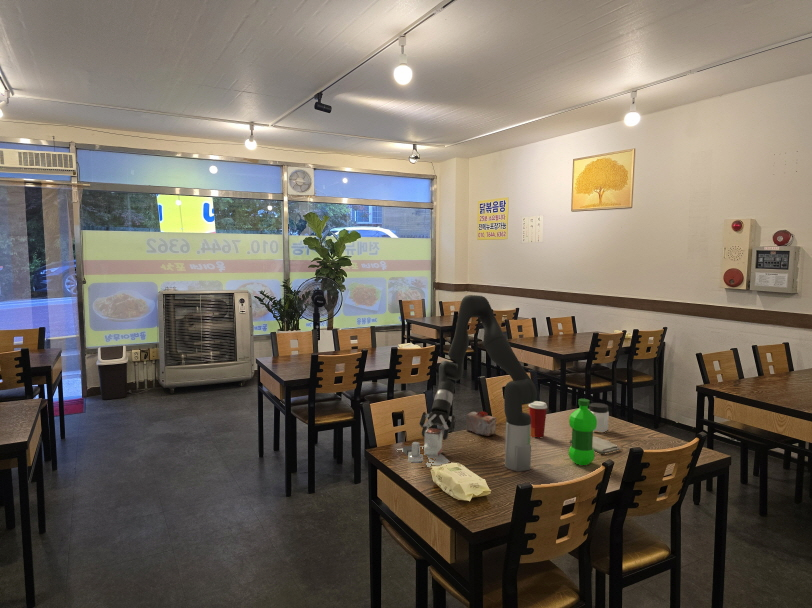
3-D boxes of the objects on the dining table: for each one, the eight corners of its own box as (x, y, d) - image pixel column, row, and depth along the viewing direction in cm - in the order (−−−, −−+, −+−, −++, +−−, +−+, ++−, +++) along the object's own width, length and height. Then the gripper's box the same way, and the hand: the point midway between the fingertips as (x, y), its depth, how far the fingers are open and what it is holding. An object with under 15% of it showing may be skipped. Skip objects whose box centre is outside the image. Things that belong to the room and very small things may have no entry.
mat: (453, 465, 203) (453, 464, 203) (413, 470, 198) (413, 469, 198) (431, 446, 224) (431, 445, 224) (395, 449, 219) (395, 449, 219)
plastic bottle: (564, 458, 212) (566, 396, 210) (590, 458, 212) (593, 397, 210) (571, 467, 202) (573, 403, 200) (599, 468, 202) (602, 403, 200)
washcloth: (602, 457, 215) (603, 449, 215) (568, 444, 231) (568, 437, 230) (621, 452, 222) (622, 444, 221) (586, 439, 237) (586, 432, 237)
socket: (442, 452, 216) (442, 429, 215) (438, 456, 210) (438, 433, 210) (428, 450, 218) (428, 427, 217) (423, 454, 213) (424, 431, 212)
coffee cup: (548, 435, 240) (550, 402, 239) (542, 440, 233) (544, 406, 232) (530, 431, 244) (531, 399, 243) (524, 436, 238) (525, 403, 236)
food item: (498, 434, 241) (499, 412, 240) (489, 438, 235) (489, 416, 234) (473, 427, 250) (474, 407, 249) (463, 431, 244) (464, 410, 243)
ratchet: (425, 462, 204) (425, 445, 204) (410, 464, 202) (410, 446, 202) (413, 450, 217) (414, 433, 216) (399, 452, 215) (399, 435, 214)
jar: (601, 434, 242) (602, 408, 241) (584, 430, 248) (585, 405, 247) (610, 430, 248) (611, 405, 247) (593, 426, 254) (595, 401, 253)
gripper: (424, 396, 224) (415, 431, 214) (457, 400, 219) (449, 435, 209) (428, 405, 229) (419, 440, 219) (460, 409, 224) (452, 444, 215)
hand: (433, 437), depth 214 cm, fingers open, 8 cm apart
